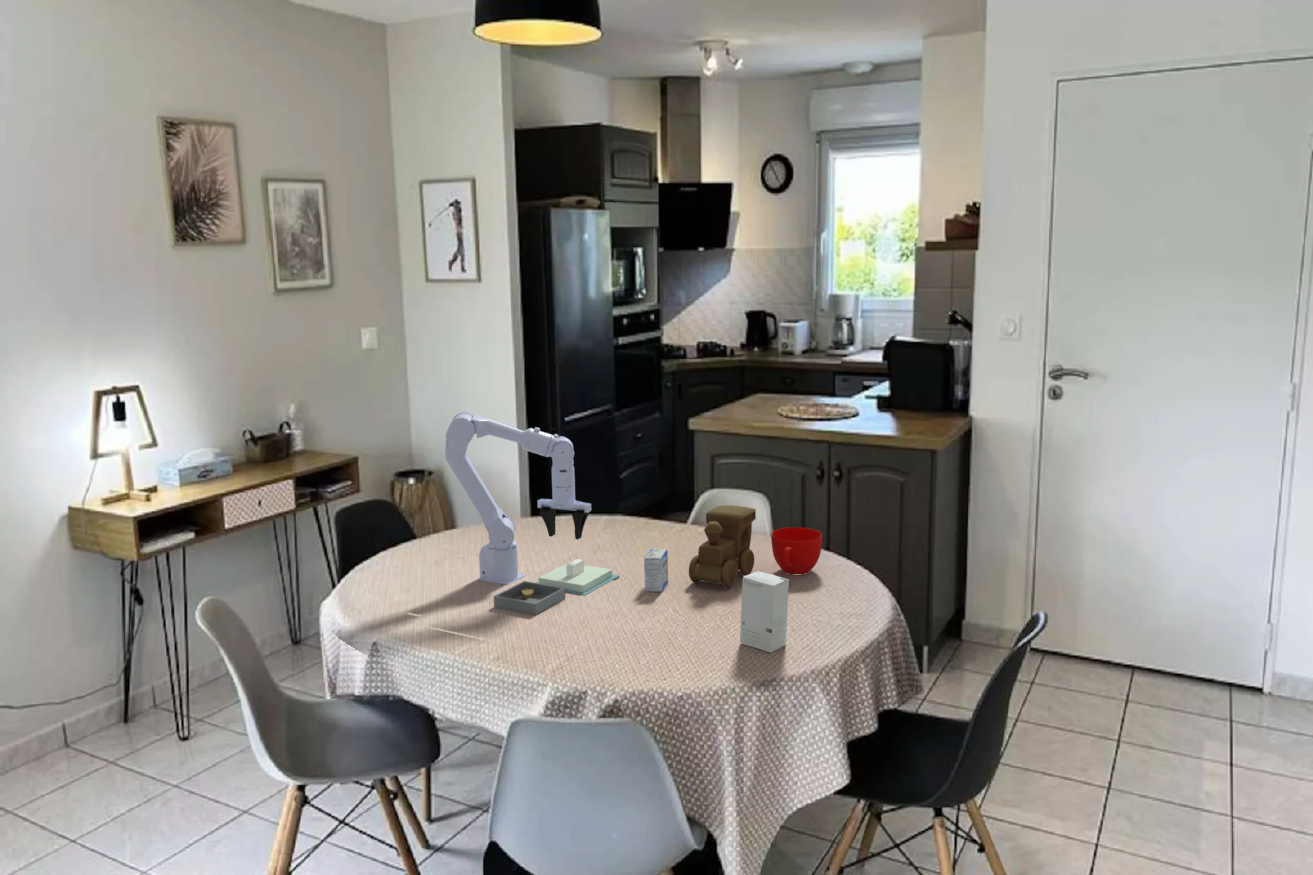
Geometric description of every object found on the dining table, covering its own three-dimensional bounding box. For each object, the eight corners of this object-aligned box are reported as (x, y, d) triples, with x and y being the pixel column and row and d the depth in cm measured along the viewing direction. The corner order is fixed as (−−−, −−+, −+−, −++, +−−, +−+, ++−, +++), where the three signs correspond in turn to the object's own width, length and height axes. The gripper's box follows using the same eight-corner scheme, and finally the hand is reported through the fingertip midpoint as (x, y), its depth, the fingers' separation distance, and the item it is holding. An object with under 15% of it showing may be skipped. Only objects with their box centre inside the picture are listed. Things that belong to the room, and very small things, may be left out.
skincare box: (739, 644, 204) (739, 576, 201) (755, 635, 209) (755, 569, 206) (773, 654, 199) (773, 584, 196) (789, 645, 203) (789, 577, 200)
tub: (494, 608, 228) (493, 596, 227) (525, 592, 238) (524, 581, 238) (535, 616, 222) (535, 604, 222) (565, 600, 232) (565, 588, 232)
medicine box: (662, 592, 236) (661, 558, 235) (644, 591, 237) (643, 557, 236) (668, 582, 244) (667, 548, 242) (651, 581, 245) (650, 548, 243)
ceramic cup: (760, 581, 243) (760, 543, 241) (778, 561, 258) (778, 525, 257) (811, 587, 238) (812, 547, 236) (826, 566, 254) (827, 529, 252)
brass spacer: (519, 598, 233) (518, 590, 233) (526, 594, 235) (526, 587, 235) (529, 600, 231) (529, 592, 231) (536, 596, 234) (536, 588, 234)
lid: (538, 584, 242) (537, 566, 242) (568, 569, 254) (567, 551, 253) (583, 592, 236) (583, 573, 235) (612, 576, 248) (611, 558, 247)
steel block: (523, 607, 227) (523, 601, 227) (530, 603, 229) (529, 597, 229) (537, 610, 225) (537, 603, 225) (543, 606, 227) (543, 600, 227)
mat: (531, 587, 242) (531, 585, 242) (567, 568, 256) (567, 567, 256) (585, 596, 234) (585, 594, 234) (619, 577, 248) (619, 575, 248)
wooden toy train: (719, 564, 257) (719, 503, 254) (759, 570, 252) (759, 508, 249) (684, 586, 240) (683, 521, 237) (726, 593, 235) (726, 527, 232)
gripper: (530, 486, 245) (532, 538, 248) (581, 491, 240) (583, 544, 242) (544, 480, 252) (546, 531, 254) (594, 484, 246) (595, 536, 248)
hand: (565, 536), depth 249 cm, fingers open, 7 cm apart
